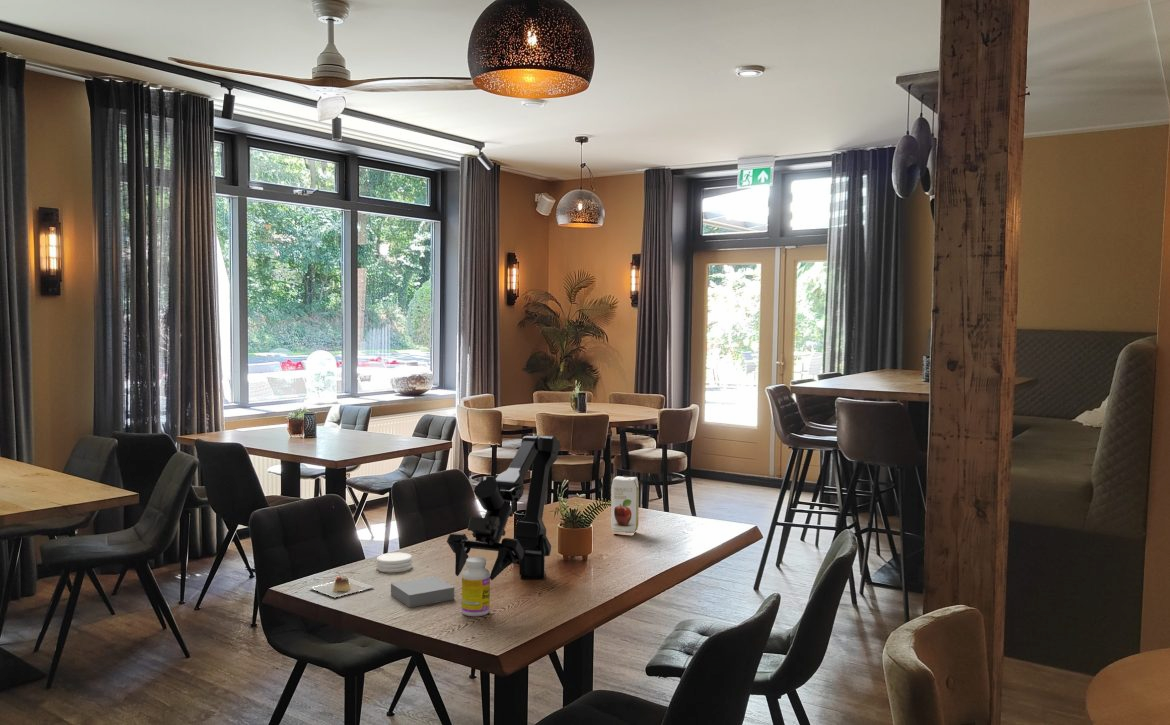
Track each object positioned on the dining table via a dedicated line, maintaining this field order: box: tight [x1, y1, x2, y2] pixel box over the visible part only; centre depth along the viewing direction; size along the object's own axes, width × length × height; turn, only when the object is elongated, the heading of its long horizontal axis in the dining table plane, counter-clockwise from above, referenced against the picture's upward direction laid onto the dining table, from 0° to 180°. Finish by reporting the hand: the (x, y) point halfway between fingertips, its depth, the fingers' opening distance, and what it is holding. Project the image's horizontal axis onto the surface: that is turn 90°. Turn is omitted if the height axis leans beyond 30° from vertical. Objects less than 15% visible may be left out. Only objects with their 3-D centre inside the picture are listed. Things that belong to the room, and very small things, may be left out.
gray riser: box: [390, 575, 455, 608], centre depth 215 cm, size 12×12×3 cm
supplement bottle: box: [461, 556, 491, 617], centre depth 203 cm, size 7×7×13 cm
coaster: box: [375, 552, 413, 574], centre depth 241 cm, size 10×10×4 cm
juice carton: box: [610, 475, 640, 533], centre depth 285 cm, size 8×9×19 cm
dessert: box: [309, 573, 375, 599], centre depth 221 cm, size 12×12×5 cm
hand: (473, 577), depth 201 cm, fingers open, 9 cm apart
